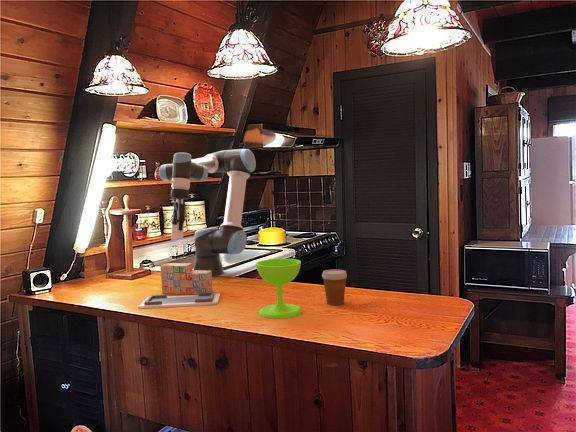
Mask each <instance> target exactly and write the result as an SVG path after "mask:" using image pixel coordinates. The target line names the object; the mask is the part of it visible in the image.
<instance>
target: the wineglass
mask: <svg viewBox="0 0 576 432" xmlns="http://www.w3.org/2000/svg"><path fill="white" fill-rule="evenodd" d="M301 263H302V261H301V260H300V259H296V258H271V259H263V260H258V261H257V262H256V263H255V266H256V271H257V272H258V275H259V276H260V277H261V278H262V279H263V281H265V282H267V284H270V285H274V286H276V299H277V300H276V303H275V304H268V305H266V306H264V307H262V308H260V309H259V310H258V313H257V314H258V316H260V317H263V318H265V319H276V320H278V319H280V320H281V319H289V318H294V317H298V316H300V315H302V314H303V313H304V312H303V308H302V307H301V306H298V305H295V304H293V303H284V300H283V299H284V297H283V286H284V285H286V284H290V283H291V282H292V281H294V280H295V278H296V277H297V276H298V275H299V272H300V269H301V265H302V264H301Z"/></svg>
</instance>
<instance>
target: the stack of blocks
mask: <svg viewBox="0 0 576 432" xmlns="http://www.w3.org/2000/svg"><path fill="white" fill-rule="evenodd" d="M193 269H194V266H193V263H190V262H189V263H188V262H187V263H186V262H185V263H184V262H180V263H178V262H177V263H175V262H173V263H172V262H168V263H165V264H161V265H160V278H161V293H162V294H176V295H199V294H198V293H204V292H214V291H213V276H212V271H205V270H193Z"/></svg>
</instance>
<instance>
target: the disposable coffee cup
mask: <svg viewBox="0 0 576 432" xmlns="http://www.w3.org/2000/svg"><path fill="white" fill-rule="evenodd" d="M321 277H322V279H323V280H322V281H323V285H324V291H325V292H324V293H325V300H326V304H327V305H330V306H341V305H343V304H344V303H345V302H344V301H345V295H346V294H345V293H346V284H347V283H346V282H347V277H348V274H347V271H346V270H344V269H326V270H323V272H322V274H321Z"/></svg>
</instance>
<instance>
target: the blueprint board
mask: <svg viewBox="0 0 576 432" xmlns="http://www.w3.org/2000/svg"><path fill="white" fill-rule="evenodd" d="M215 292H216V291H212V292H204V293H198V294H199V295H197V294H184V295H170V296H169V295H167V294H168V293H164V294H150V295H149V296H148V297H146V298H145V299H144V300H143V301H142V302H140V304H139V305H138V307H137V308H138V309H150V308H151V309H159V308H174V307H175V308H176V307H195V306H212V305H213V306H216V305H218V303H219V300H220V297H221V293H215Z"/></svg>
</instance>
